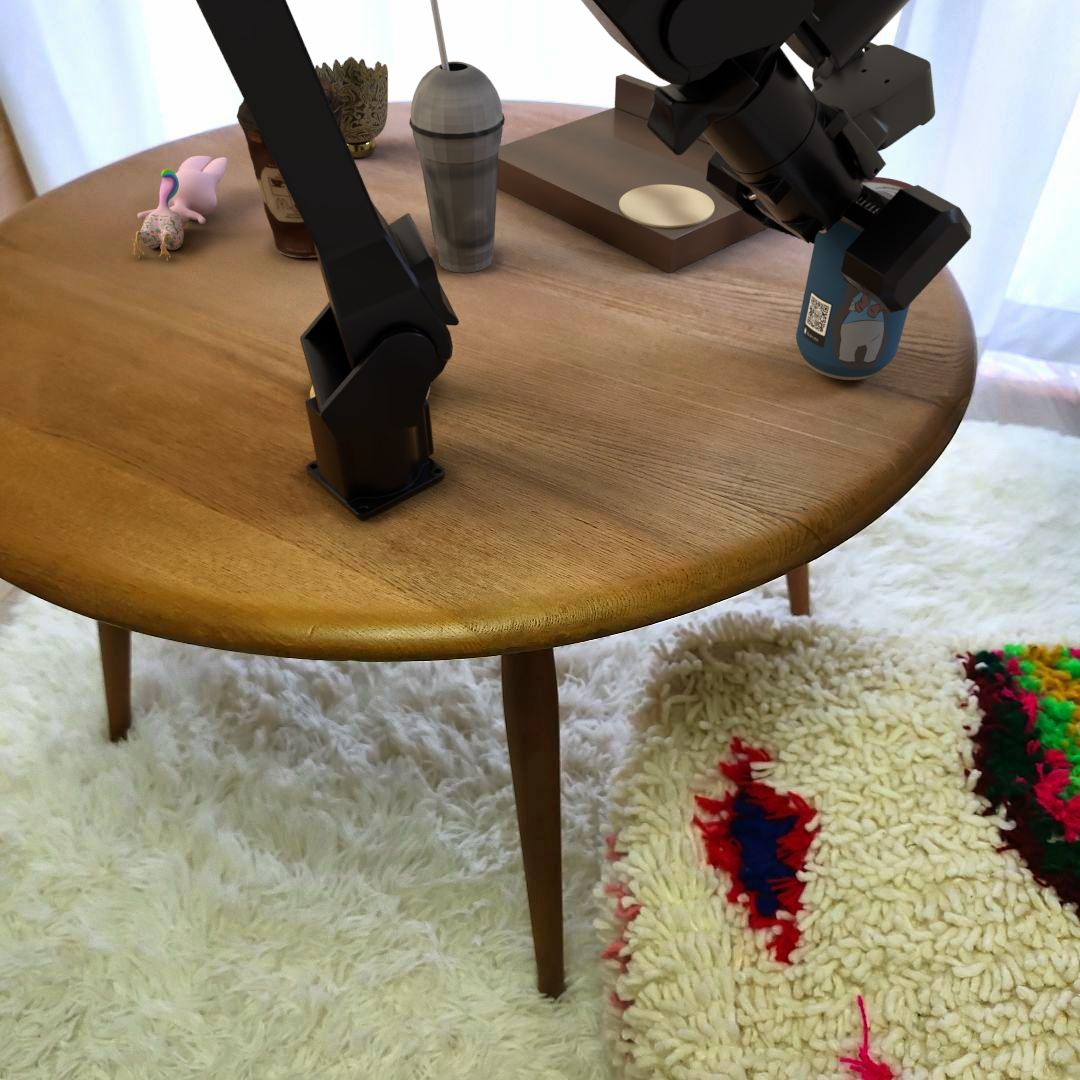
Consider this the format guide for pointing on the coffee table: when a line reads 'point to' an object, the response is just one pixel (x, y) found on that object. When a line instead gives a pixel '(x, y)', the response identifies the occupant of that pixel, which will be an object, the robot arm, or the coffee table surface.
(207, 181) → the rabbit figure
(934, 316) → the coffee table surface
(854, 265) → the robot arm
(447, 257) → the beverage cup
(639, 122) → the shelf
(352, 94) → the cup
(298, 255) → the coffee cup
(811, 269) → the soda can
